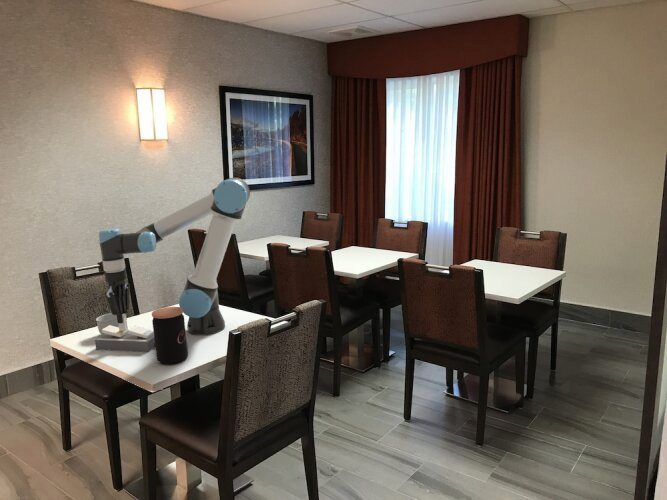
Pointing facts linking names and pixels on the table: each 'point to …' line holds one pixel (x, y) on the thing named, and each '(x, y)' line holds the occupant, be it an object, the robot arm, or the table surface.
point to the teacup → (106, 321)
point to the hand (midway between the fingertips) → (123, 330)
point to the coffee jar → (169, 335)
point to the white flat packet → (140, 332)
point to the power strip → (125, 343)
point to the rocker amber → (114, 331)
